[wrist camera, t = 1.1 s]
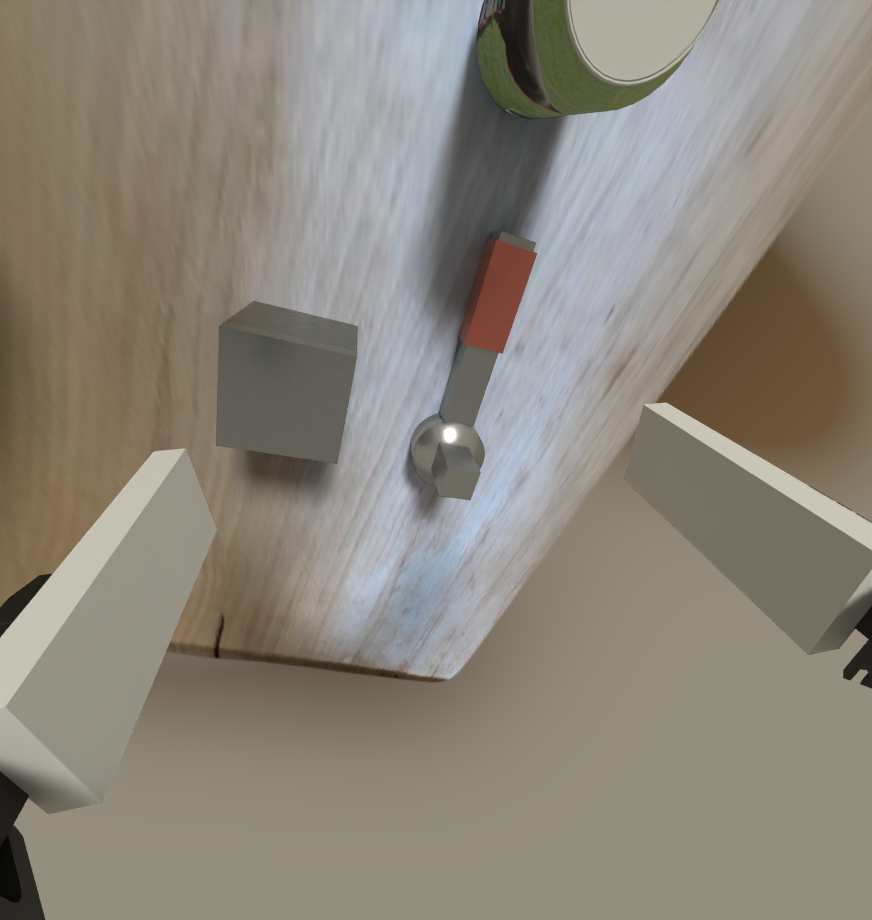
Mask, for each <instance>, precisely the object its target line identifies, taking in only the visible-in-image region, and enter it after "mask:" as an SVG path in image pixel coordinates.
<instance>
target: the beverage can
mask: <svg viewBox="0 0 872 920" xmlns="http://www.w3.org/2000/svg"><path fill="white" fill-rule="evenodd" d="M720 2H721V0H484V2H483V5H482V9H481V13H480V18H479V23H478V33H477V54H478V61H479V68H480V71H481V75H482V78H483V81H484V83H485V86H486V88H487V90H488V92H489V94H490V95H491V97H492V98H493V99H494V101H495V102H496V103H497V104H498V105H499V106H500V107H501V108H502V109H503V110H504V111H506V112H507V113H509V114H511V115H513V116H515V117H518V118H522V119H538V118H547V117H557V116H566V115H575V114H584V113H594V112H603V111H611V110H618V109H621V108H624V107H626V106H629V105H632V104H634V103H636V102H638V101H639V100H641V99H643V98H645V97H646V96H648V95H649V94H651V93H652V92H653V91H654V90H656V89H657V88H658V87H659V86H661V85H662V84H663V83H664V82H665V81H666V80H667V79H668V78H669V77H670V76H671V75H672V74H673V73H674V72H675V71H676V70H677V69H678V67H679V66H680V65H681V63H682V62H683V61H684V59H685V58H686V57H687V55H688V54H689V53H690V51H691V50H692V49H693V47H694V45H695V44H696V42H697V41H698V40H699V38H700V37H701V36H702V34H703V33H704V32H705V30H706V28H707V26H708V25H709V23H710V21H711V20H712V18H713V16H714V15H715V13H716V11H717V8H718V6H719V4H720Z"/></svg>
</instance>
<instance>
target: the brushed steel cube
mask: <svg viewBox="0 0 872 920" xmlns="http://www.w3.org/2000/svg"><path fill="white" fill-rule="evenodd" d="M357 332H358V326H355V325H351V324H346V323H342V322H338V321H334V320H330V319H326V318H322V317H318V316H313V315H309V314H305V313H301V312H297V311H293V310H289V309H285V308H280V307H276V306H272V305H268V304H264V303H260V302H256V301H253V302H252V303H250V304H249V305H248V306H246V307H245V308H243V309H242V310H241V311H239V312H238V313H237V314H235V315H234V316H232V317H231V318H230V319H228V320H227V321H225V322H224V323H223V324H221V325H220V326H219V355H218V390H217V424H216V446H223V447H229V448H236V449H242V450H249V451H256V452H262V453H269V454H276V455H282V456H289V457H295V458H302V459H309V460H315V461H322V462H329V463H335V464H337V462H338V456H339V451H340V446H341V440H342V435H343V429H344V424H345V418H346V413H347V408H348V402H349V397H350V391H351V386H352V380H353V375H354V370H355V364H356V359H357Z"/></svg>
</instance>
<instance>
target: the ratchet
mask: <svg viewBox="0 0 872 920" xmlns="http://www.w3.org/2000/svg"><path fill="white" fill-rule="evenodd" d="M535 244H536V242H533V241H530V240H527V239H524V238H521V237H518V236H515V235H512V234H509V233H506V232H503V231H493V232H492V235H491V238H490V239H487V241H486V244H485V248H484V251H483V254H482V258H481V261H480V265H479V268H478V272H477V275H476V278H475V282H474V285H473V289H472V292H471V296H470V299H469V302H468V306H467V309H466V313H465V316H464V320H463V323H462V326H461V330H460V333H459V338H460V339H461V340H460V343H459V347H458V350H457V354H456V357H455V360H454V364H453V367H452V370H451V374H450V377H449V381H448V384H447V387H446V391H445V394H444V398H443V401H442V404H441V408H440V411H439V412H440V413H439V414H435V415H432V416H430V417H428V418H427V419H425V420H424V421H422V422H421V423H420V424H419V425H418V426H417V428H416V429H415V431H414V433H413V435H412V438H411V453H412V457H413V462H414V466H415V469H416V472H417V473H418V475H419V476H420V478H421V479H422V480H424V481H425V482H426V483H428V484H430V485H432V486H435V487H437V491H438V494H439V496H443V497H450V498H458V499H465V500H471V497H472V494H473V492H474V489H475V486H476V484H477V481H478V478H479V476H480V473H481V472H480V468H481V466H482V464H483V461H484V456H485V451H484V446H483V443H482V441H481V439H480V437H479V435H478V433H477V432H476V430H475V428H474V423H475V420H476V417H477V414H478V411H479V408H480V405H481V402H482V400H483V397H484V394H485V391H486V388H487V385H488V382H489V379H490V376H491V373H492V370H493V367H494V364H495V361H496V359H497V356H498V353H503V351H504V348H505V345H506V342H507V339H508V336H509V333H510V330H511V327H512V325H513V322H514V319H515V316H516V313H517V310H518V307H519V304H520V301H521V299H522V296H523V293H524V290H525V287H526V284H527V281H528V278H529V275H530V273H531V270H532V267H533V264H534V261H535V258H536V255H537V253H535V252H533V250H534V247H535Z"/></svg>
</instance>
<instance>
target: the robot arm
mask: <svg viewBox="0 0 872 920" xmlns="http://www.w3.org/2000/svg"><path fill="white" fill-rule="evenodd" d="M624 480H625V481H626V482H627V483H628V484H629V485H630V486H631V487H632V488H634V489H635V490H636V491H637V492H638V493H639V494H640V495H641V496H642V497H643V498H644V499H645V500H646V501H647V502H648V503H649V504H650V505H651V506H653V508H655V509H656V510H657V511H658V512H659V513H660V514H661V515H662V516H663V517H664V518H665V519H666V520H667V521H668V522H669V523H670V524H671V525H672V526H673V527H674V528H676V529H677V530H678V531H679V532H680V533H681V534H682V535H683V536H684V537H685V538H686V539H687V540H688V541H689V542H690V543H691V544H692V545H693V546H695V548H696V549H697V550H699V551H700V552H701V553H702V554H703V555H704V556H705V557H706V558H707V559H708V560H709V561H710V562H711V563H712V564H713V565H714V566H715V567H716V568H717V569H718V570H720V571H721V572H722V573H723V574H724V575H725V576H726V577H727V578H728V579H729V580H730V581H731V582H732V583H733V584H734V585H735V586H736V587H737V588H739V590H740V591H742V592H743V593H744V594H745V595H746V596H747V597H748V598H749V599H750V600H751V601H752V602H753V603H754V604H755V605H756V606H757V607H758V608H759V609H760V610H762V611H763V612H764V613H765V614H766V615H767V616H768V617H769V618H770V619H771V620H772V621H773V622H774V623H775V624H776V625H777V626H778V627H779V628H780V629H781V630H782V631H784V632H785V633H786V634H787V635H788V636H789V637H790V638H791V639H792V640H793V641H794V642H795V643H796V644H797V645H798V646H799V647H800V648H801V649H802V650H803V651H805V652H806V653H807V654H808V655H811V654H815V653H820V652H825V651H830V650H834V649H839V648H840V647H841V646H842V645H843V643H844V642H845V641H846V640H847V638H848V637H849V636H850V635H851V633H852V632H853V631H854V630H855V628H856V629H857V630H858V631H859V632H861V633H862V634H863V635H864V636H865V637H867V638H868V639H869V640H868V641H867V643H866V644H865V645H864V646H863V647H862V648H861V650H860V651H859V652H858V653H857V654H856V655H855V657H854V658H853V659H852V660H851V661H850V663H849V664H848V665H847V666H846V667H845V669H844V672H843V678H845V679H847V680H851V679H852V678H853V677H854V676H855V675H856V674H857V672H858V671H859V670H860V669H863V670H867V671H868V674H867V675H866V676H865V677H864V678H863V680H862V681H861V683H860V684H861V685H864V686H867V687H869V688H872V522H871V521H869V520H867V519H866V518H864V517H862V516H861V515H859V514H857V513H856V514H855V513H854V512H852V510H850V509H849V508H847V507H845V506H843V505H842V504H840V503H838V502H835V501H833V499H831V498H830V497H828V496H826V495H825V494H823V493H821V492H820V491H818V490H816V489H814V488H813V487H811V486H808V485H806V484H804V483H802V482H801V481H799V480H797V479H796V478H794V477H792V476H791V475H789V474H787V473H785V472H784V471H782V470H780V469H778V468H777V467H775V466H773V465H772V464H770V463H768V462H767V461H765V460H763V459H761V458H760V457H758V456H756V455H755V454H753V453H751V452H749V451H748V450H746V449H744V448H742V447H741V446H739V445H738V444H736V443H734V442H732V441H731V440H729V439H727V438H726V437H724V436H722V435H721V434H719V433H717V432H715V431H713V430H712V429H710V428H709V427H707V426H705V425H703V424H702V423H700V422H698V421H697V420H695V419H693V418H691V417H690V416H688V415H686V414H685V413H683V412H681V411H680V410H678V409H676V408H674V407H673V406H671V405H669V404H668V403H657V404H646V405H643V409H642V413H641V417H640V421H639V424H638V428H637V432H636V436H635V440H634V443H633V447H632V451H631V454H630V458H629V462H628V466H627V470H626V474H625V477H624ZM215 533H216V527H215V524H214V522H213V519H212V516H211V514H210V511H209V508H208V506H207V503H206V501H205V498H204V495H203V493H202V490H201V487H200V485H199V482H198V479H197V477H196V474H195V472H194V469H193V466H192V464H191V461H190V458H189V456H188V453H187V450H186V449H176V450H165V451H155V452H153V453H152V454H151V456H150V457H149V458H148V459H147V460H146V462H145V463H144V464H143V465H142V467H141V468H140V469H139V470H138V471H137V473H136V474H135V475H134V476H133V477H132V479H131V480H130V481H129V482H128V484H127V485H126V486H125V487H124V488H123V490H122V491H121V492H120V493H119V494H118V496H117V497H116V498H115V499H114V500H113V502H112V503H111V504H110V505H109V507H108V508H107V509H106V510H105V511H104V513H103V514H102V515H101V516H100V517H99V519H98V520H97V521H96V522H95V524H94V525H93V526H92V527H91V528H90V530H89V531H88V532H87V533H86V534H85V536H84V537H83V538H82V539H81V540H80V542H79V543H78V544H77V545H76V547H75V548H74V549H73V550H72V551H71V553H70V554H69V555H68V556H67V557H66V559H65V560H64V561H63V562H62V564H61V565H60V566H59V567H58V568H57V570H56V571H55V572H54V573H53V574H47V575H39V576H38V577H37V578H35V579H34V580H33V581H31V582H30V583H29V584H27V585H26V586H24V587H23V588H22V589H20V590H19V591H18V592H16V593H15V594H14V595H12V596H11V597H10V598H8V599H7V601H6V602H5V603H4V604H3V605H2V606H1V607H0V920H45V917H44V913H43V909H42V906H41V902H40V898H39V894H38V891H37V887H36V883H35V880H34V876H33V872H32V869H31V865H30V861H29V857H28V853H27V850H26V846H25V842H24V838H23V836H22V834H21V833H20V832H19V830H18V829H17V828H16V827H15V826H14V825H13V824H14V822H15V821H16V819H17V817H18V815H19V813H20V812H21V810H22V808H23V806H24V804H25V802H26V801H27V799H28V798H29V799H30V800H31V801H33V802H34V803H35V804H36V805H38V806H39V807H40V808H41V809H42V810H44V811H45V812H46V813H47V814H51V813H56V812H60V811H65V810H70V809H75V808H80V807H84V806H89V805H94V804H98V803H102V802H103V800H104V798H105V796H106V793H107V791H108V789H109V786H110V783H111V781H112V779H113V777H114V774H115V772H116V769H117V767H118V764H119V762H120V759H121V757H122V755H123V753H124V750H125V748H126V746H127V743H128V741H129V738H130V736H131V733H132V731H133V729H134V726H135V724H136V722H137V719H138V717H139V714H140V712H141V710H142V707H143V705H144V702H145V700H146V698H147V695H148V693H149V691H150V688H151V685H152V683H153V681H154V678H155V676H156V674H157V671H158V669H159V667H160V664H161V662H162V659H163V657H164V655H165V652H166V650H167V648H168V645H169V643H170V640H171V638H172V636H173V633H174V631H175V628H176V626H177V624H178V621H179V619H180V616H181V614H182V612H183V609H184V607H185V605H186V602H187V600H188V597H189V595H190V593H191V590H192V588H193V585H194V583H195V581H196V578H197V576H198V573H199V571H200V569H201V566H202V564H203V562H204V559H205V557H206V554H207V552H208V550H209V547H210V545H211V542H212V540H213V538H214V535H215Z"/></svg>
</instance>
